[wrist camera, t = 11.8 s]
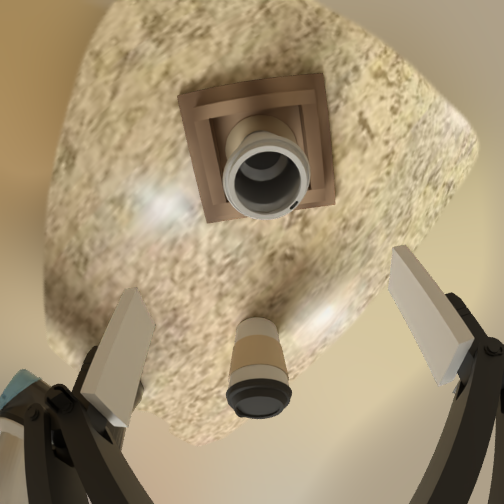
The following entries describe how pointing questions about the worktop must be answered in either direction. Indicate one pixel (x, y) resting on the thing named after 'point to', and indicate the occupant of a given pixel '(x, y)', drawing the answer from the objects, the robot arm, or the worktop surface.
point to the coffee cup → (258, 371)
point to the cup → (266, 176)
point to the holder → (254, 119)
